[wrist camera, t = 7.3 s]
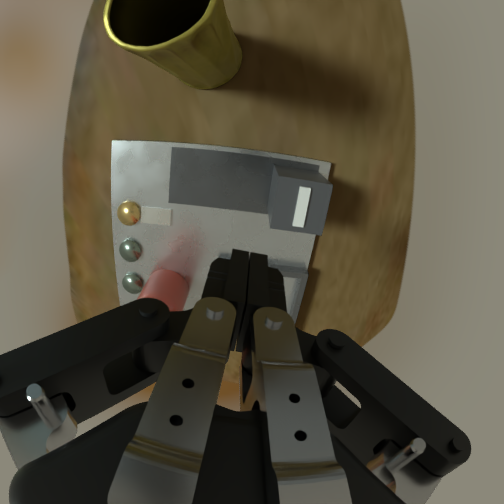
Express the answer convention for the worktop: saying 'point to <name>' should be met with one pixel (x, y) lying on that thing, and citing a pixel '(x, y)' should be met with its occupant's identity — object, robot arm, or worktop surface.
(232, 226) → the panel
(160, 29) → the vase
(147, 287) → the red tapered cylinder
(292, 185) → the breaker
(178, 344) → the robot arm
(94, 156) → the worktop surface
